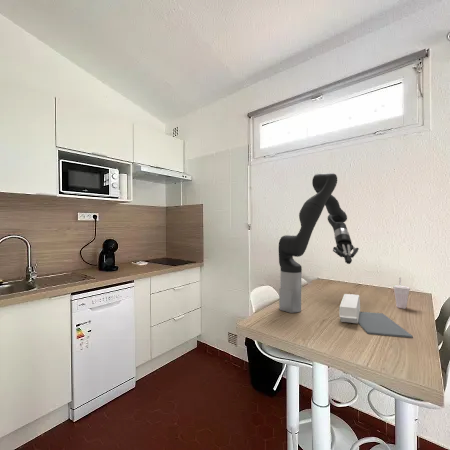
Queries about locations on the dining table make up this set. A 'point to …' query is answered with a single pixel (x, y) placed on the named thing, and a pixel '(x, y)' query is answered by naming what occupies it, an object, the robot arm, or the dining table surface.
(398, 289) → the smoothie
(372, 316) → the mat
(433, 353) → the dining table surface
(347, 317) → the milk
